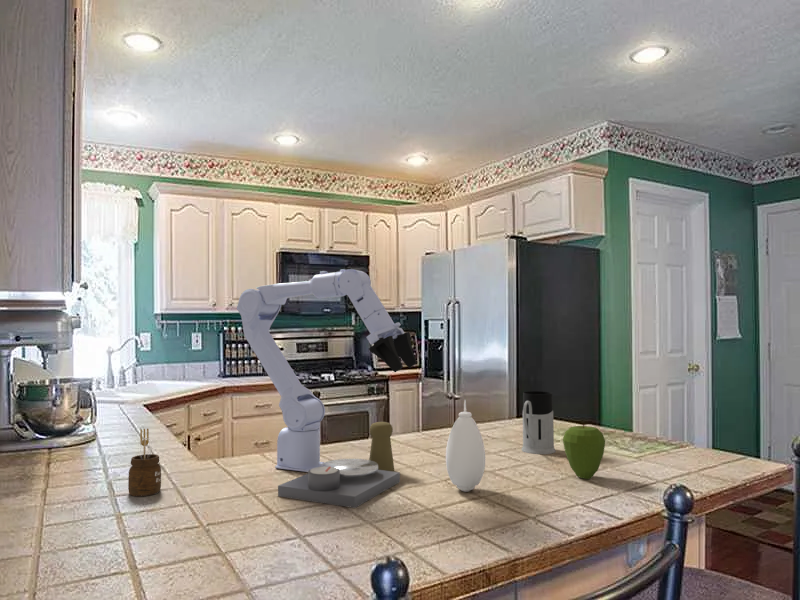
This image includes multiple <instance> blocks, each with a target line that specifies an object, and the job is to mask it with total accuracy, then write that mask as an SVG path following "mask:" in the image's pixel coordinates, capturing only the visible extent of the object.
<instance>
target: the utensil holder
mask: <svg viewBox="0 0 800 600" xmlns="http://www.w3.org/2000/svg"><path fill="white" fill-rule="evenodd" d="M139 432H140V433H139V434H140V435H139V437H140V439H139V442H138V444H139V446H143V454H139V455H135V456H132V457H131V458H130V459H131V460H130V465H131V466H130V467H129V471H128V483H127V484H128V485H127V486H128V494H129V495H130V496H132V497H146V496H147V497H148V496H153V495H156V494H158V493H159V492H161V487H162V466H161V465H160V463H159V462H160V455H158V454H156V453H155V454H154V453H153V454H152V452H150V451H152V447H153V445H152V440H151V439H149V438H150V437H149V428H143V429H142V428H140V431H139ZM149 444H150V451H148V453H146V450H147V449H146V446H147V445H149ZM139 453H142V449H139Z"/></svg>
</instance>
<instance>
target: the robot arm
mask: <svg viewBox="0 0 800 600" xmlns="http://www.w3.org/2000/svg"><path fill="white" fill-rule="evenodd" d="M371 281H372V280H371V278H370V276H369V274H367V273H366V272H365V271H362V270H358V269H353V268H348V269H345V268H343V269H341V268H340V269H339V271H336V272H335V271H334V272H328V271H326V270H322V271H321V270H320V271H319V274H315V275H314V276H313V277H312V278H311V279H310V280H305V281H295V282H282V283H273V284H266V285H260V286H257V287H255V289H254V288H247V289H245V290H244V291H243V292H242V293H241V295H239V299H238V302H237V305H236V310H237V311H238V313H239V315H240V316H241V323H242V330H243V335H244V337H245V339H246V340H247V343H248V344H249V346H250V347H251V349H252V351H253V352H254V354H255V356H256V357H257V359H258V361H259V362H260V364H261V365H262V367H263V369H264V371H265V372H266V374H267V375H268V377H269V378H270V380H271V382H272V384H273V385H274V387H275V389H276V391H277V392H278V393H279V395H280V400H279V403H278V407H279V409H280V411H281V413H282V419H283V422H284V424H285V425H286V427H283V428H282V429H281V430H280V432H279V433H278V435H277V440H276V442H277V443H276V446H277V449H276V457H277V458H276V465H275V466H274V468H275V469H279V470H280V469H281V470H288V471H296V472H305V473H308V471H309V470H311V469H313V468H316V467H320V465H321V464H322V463H324V462H323V461H321V422H322V421H323V420H324V417H325V415H326V408H325V405H324V403H323V401H322V400H321V399H320V398H318V397H316V396H315V395H314V393H313V392H312V390H310V389H309V388H307V387H306V386H304V385H303V384H302V383H301V382H300V379H299V378H298V377H297V375H296V373H295V372H294V370H293V368H292V367H291V365H290V363H289V362H288V360H287V358H286V357H285V355H284V354H283V353H282V350H281V349H280V347H279V346H278V344H277V343H276V341H275V339H274V337H273V336H272V334H271V333H270V329H271V326H272V325H273V323H274V321H275V320H276V317H277V316H278V315H279V313H280V310H281V308H282V306H284V305H286V302H287V299H291V298H297V297H303V296H310V295H313V296H314V298H316V299H318V300H323V299H331V298H332V299H333V298H340V297H344V296H348V298H349V300H350V302H351V303H352V305H353V307H354V309H355V310H356V312H357V314H358V315H359V317H360V319H361V321H362V322H363V324H364V326H365V327H366V329H367V330H368V332H369V334H368V335H367V336H365V337H366V339H367V341H368V342H369V344H370V345H372V346H370V347H369V348H368V350H369V352H370V353H372V354H373V355H374V356H377V357H378V358H379V359H380V360H381V361H383V362H384V363H385V364H386V365H387V367H388V368H390V370H392V371H393V373H396V372H398V371H400V370H401V369H402V368H404V366H403V364H402V363H404V364H405V365H406V367H407V368H409V369H411V368H412V367H414V366H415V365H416V364H417V363H418V362H417V358H416V356H415V352H414V351H413V350H414V349H413V347H412V346H413V345H412V335H411V332H410V331H407V332H405V331H404V330H403V328H402V327H400V326H401V323H400V322H399V321H398V322H396V323H394V321H393V319H392V317H391V316H390V314H389V313H388V311H387V310H386V308H385V306H384V304H383V302H382V301H381V300H380V298H379V296H378V294H377V293H376V292H375V290H374V289H373V287H372V282H371ZM401 360H402V361H401Z"/></svg>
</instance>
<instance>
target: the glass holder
mask: <svg viewBox="0 0 800 600" xmlns="http://www.w3.org/2000/svg"><path fill="white" fill-rule="evenodd" d="M522 394H523V395H522V402H523V403H522V406H523V407H522V447H521V450H520V451H521V452H523V453H527V454H533V455H551V454H554V453H556V449H555V446H554V444H555V439H554V438H555V437H554V436H555V434H554V433H555V432H554V430H555V429H554V410H553V408H554V407H553V392H550V391H543V390H542V391H541V390H540V391H539V390H536V391H534V390H532V391H531V390H529V391H523V393H522Z"/></svg>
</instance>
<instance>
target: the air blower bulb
mask: <svg viewBox="0 0 800 600" xmlns="http://www.w3.org/2000/svg"><path fill="white" fill-rule="evenodd" d="M472 415H473V414H472V412H470V411H467V401H466V399H464V402H463V411H460V412H459V413H458V417H457V419H456V420H455V421H454V423H453V426H452V427H451V430H450V432H449V435H448V438H447V443H446V448H445V466H446V472H447V474H448V475H447V476H448V477H449V479H450V481H451V483H452V485H455V486H456V488H457V489H458V490H461V491H462V492H465V493H466V492H471V490H474V489H475V487H476V486H478V485H479V484H480V482H481V481H482V478H483V475H484V474H485V469H486V450H485V443H484V440H483V437H482V433H481V430H480V428H479V426H478V424H477V423H476V421H475V419H474V418H473V417H472Z"/></svg>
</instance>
